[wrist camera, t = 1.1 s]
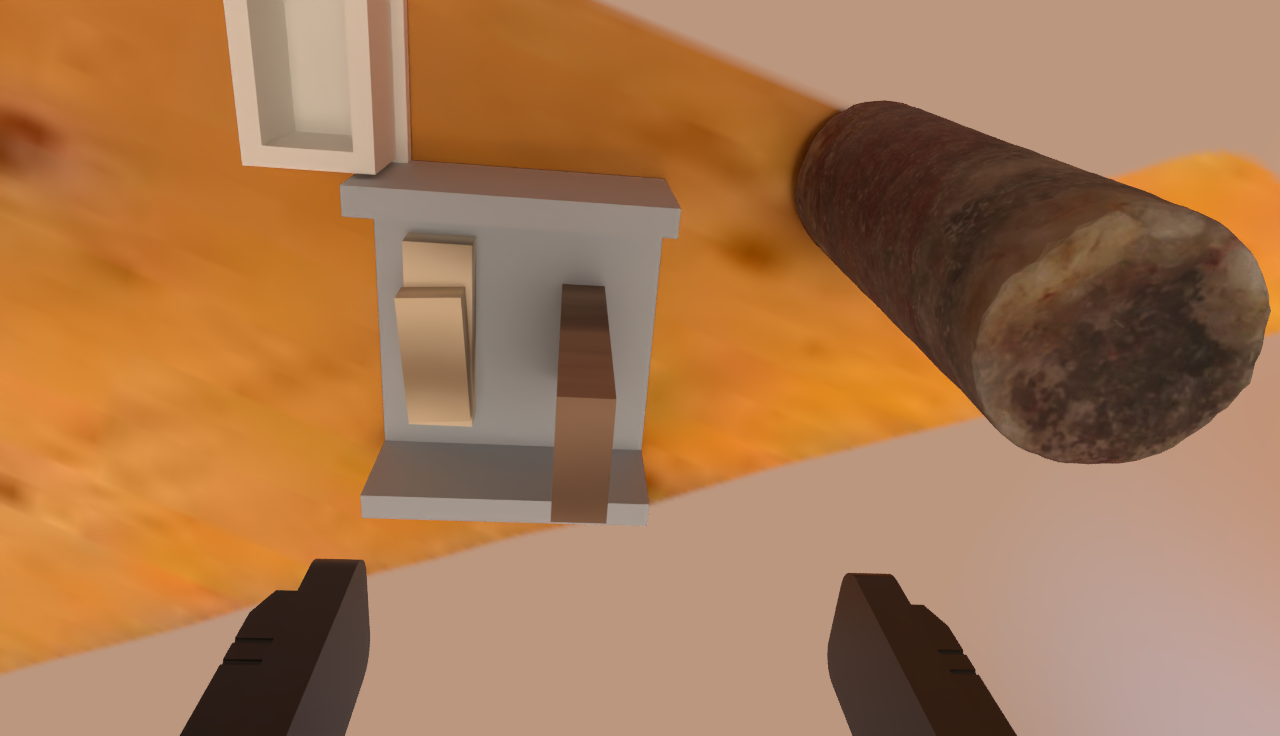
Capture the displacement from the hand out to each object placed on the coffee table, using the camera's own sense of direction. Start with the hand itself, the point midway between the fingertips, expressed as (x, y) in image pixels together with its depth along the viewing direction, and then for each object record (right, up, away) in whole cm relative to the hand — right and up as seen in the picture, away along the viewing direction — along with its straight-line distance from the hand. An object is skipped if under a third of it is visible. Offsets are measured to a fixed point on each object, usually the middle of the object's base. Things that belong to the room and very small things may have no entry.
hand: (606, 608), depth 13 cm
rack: (-5, +6, +26) cm, 27 cm away
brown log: (+11, +13, +24) cm, 30 cm away
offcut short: (-9, +5, +23) cm, 25 cm away
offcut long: (-9, +6, +24) cm, 27 cm away
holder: (-12, +18, +20) cm, 29 cm away
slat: (-2, +6, +25) cm, 26 cm away
